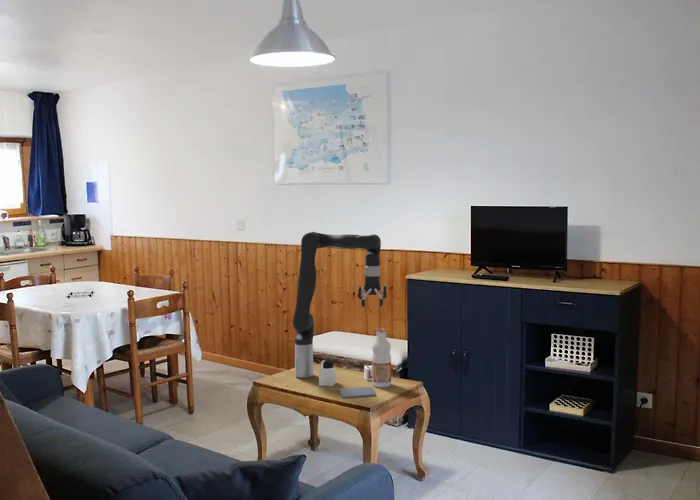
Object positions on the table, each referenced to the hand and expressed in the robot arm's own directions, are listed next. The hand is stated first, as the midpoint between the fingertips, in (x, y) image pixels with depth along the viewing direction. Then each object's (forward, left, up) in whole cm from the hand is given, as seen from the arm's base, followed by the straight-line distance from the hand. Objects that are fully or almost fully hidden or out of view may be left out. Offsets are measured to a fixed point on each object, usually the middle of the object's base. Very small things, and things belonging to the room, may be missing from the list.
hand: (372, 306), depth 326 cm
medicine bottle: (-23, -3, -38) cm, 45 cm away
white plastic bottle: (+3, -10, -38) cm, 39 cm away
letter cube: (0, +2, -38) cm, 38 cm away
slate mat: (-11, -20, -38) cm, 44 cm away
